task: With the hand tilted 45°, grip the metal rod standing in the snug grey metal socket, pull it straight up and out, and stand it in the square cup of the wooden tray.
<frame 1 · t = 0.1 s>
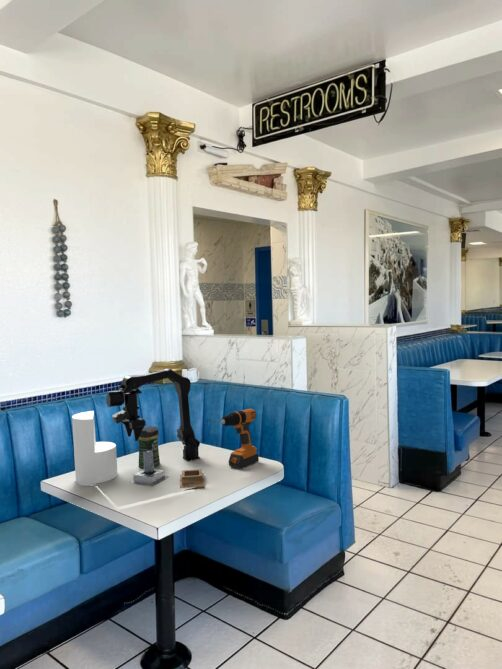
hand: (132, 438, 230), 15 cm above the table, tool pointing down, fingers open, 9 cm apart
stepped white column: (97, 479, 223), on the table
power drill: (240, 466, 233), on the table
coffee jar: (149, 467, 235), on the table
wooden tray: (192, 482, 214), on the table
socket stand: (149, 481, 216), on the table
metal rod: (149, 479, 216), point 1 cm above the table, touching socket stand
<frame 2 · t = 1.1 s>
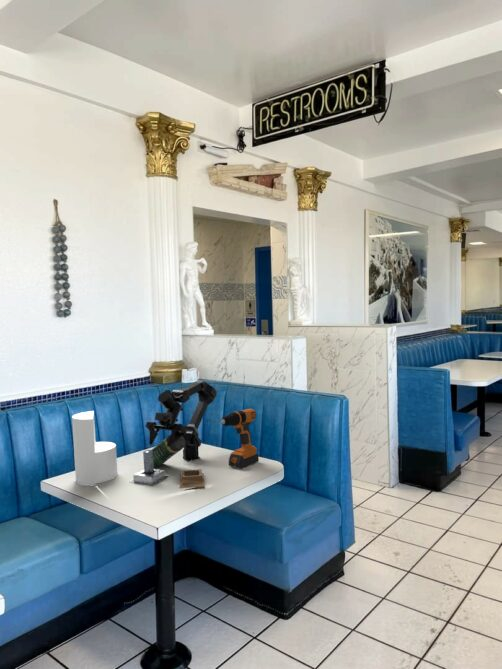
hand: (158, 445, 223), 13 cm above the table, tool tilted 45°, fingers open, 9 cm apart
coffee jar: (152, 461, 235), point 3 cm above the table, touching gripper
everything else where it was.
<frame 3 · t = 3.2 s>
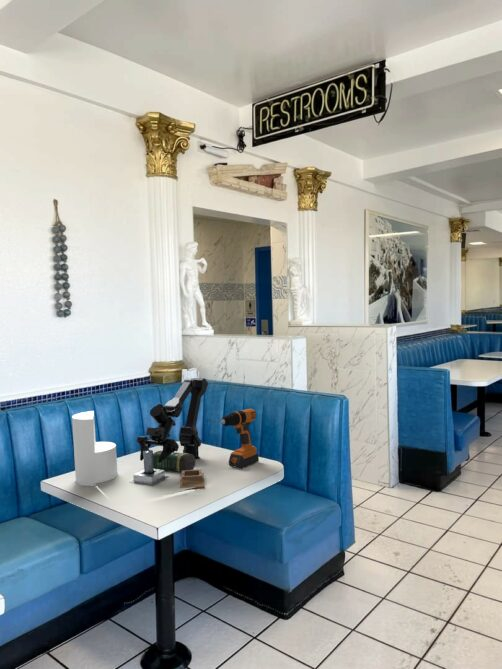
hand: (149, 461, 217), 9 cm above the table, tool tilted 45°, fingers open, 9 cm apart
coffee jar: (156, 459, 234), point 4 cm above the table
everything else where it was.
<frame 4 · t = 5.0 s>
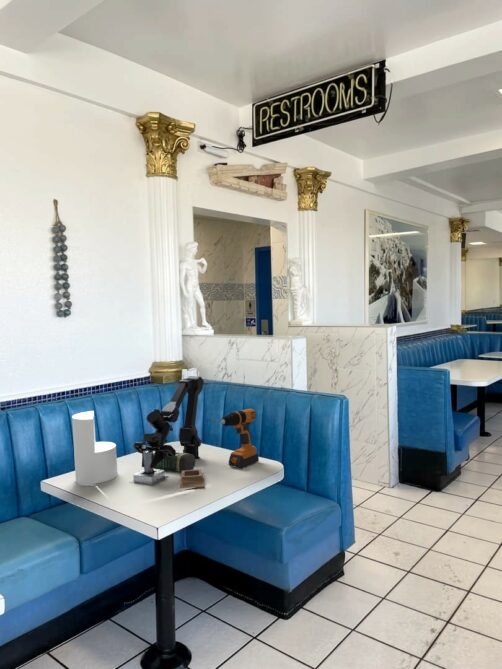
hand: (146, 467, 215), 7 cm above the table, tool tilted 45°, fingers closed on metal rod, 4 cm apart
metal rod: (149, 479, 216), point 1 cm above the table, touching gripper, socket stand
everything else where it was.
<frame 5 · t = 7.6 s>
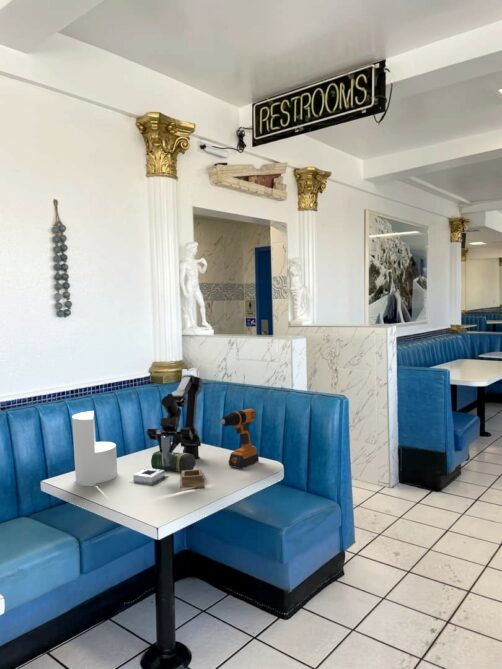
hand: (165, 452, 212), 13 cm above the table, tool tilted 45°, fingers closed on metal rod, 4 cm apart
metal rod: (167, 464, 213), point 8 cm above the table, touching gripper
everything else where it was.
when the fingers open (8 cm above the table, at t = 10.4 s): metal rod drops 1 cm, resting on wooden tray.
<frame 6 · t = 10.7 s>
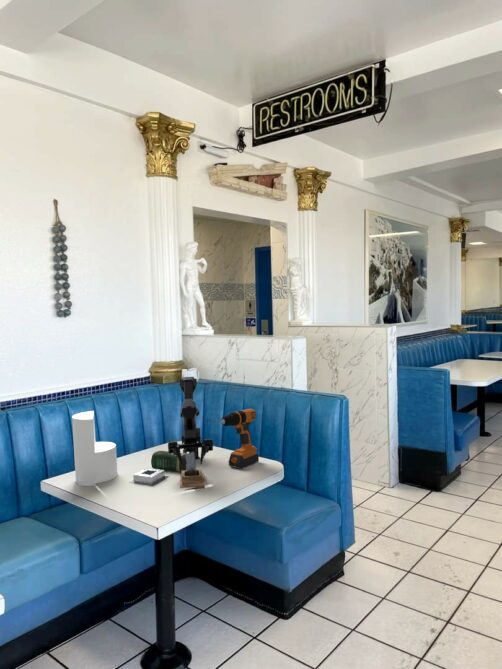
hand: (191, 464, 212), 8 cm above the table, tool tilted 45°, fingers open, 8 cm apart
metal rod: (192, 479, 214), point 1 cm above the table, touching wooden tray
everything else where it was.
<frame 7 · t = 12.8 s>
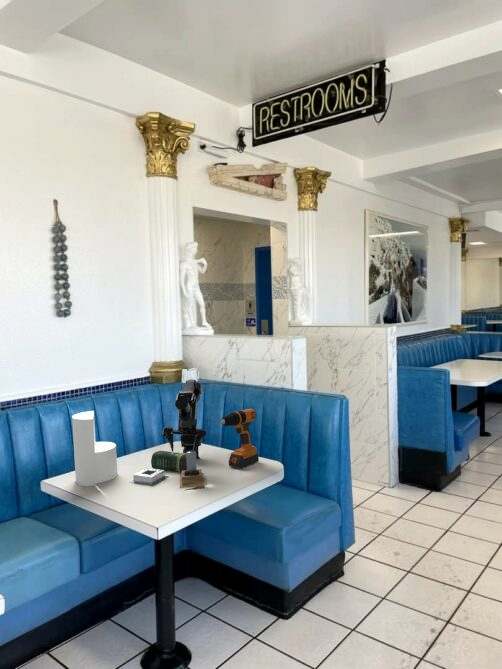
hand: (183, 452, 223), 10 cm above the table, tool tilted 35°, fingers open, 9 cm apart
nothing on the table moved.
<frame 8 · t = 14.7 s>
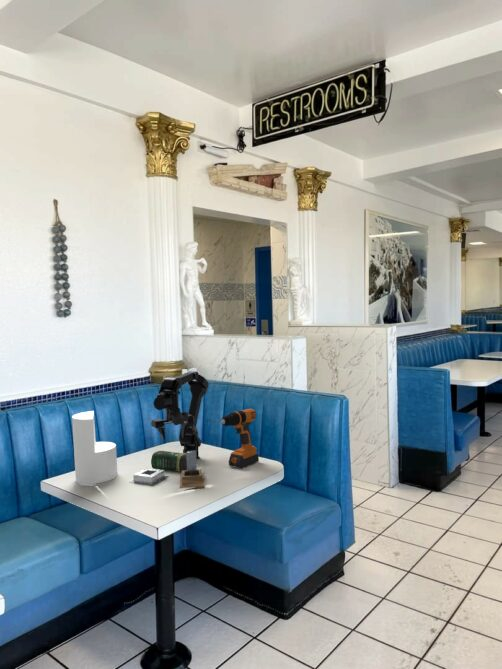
hand: (173, 439, 232), 13 cm above the table, tool pointing down, fingers open, 9 cm apart
nothing on the table moved.
at the end: metal rod 0.0 cm off-centre on the wooden tray, point 1.0 cm above the wooden tray's base; metal rod tilted 1°; the gripper is holding nothing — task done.
